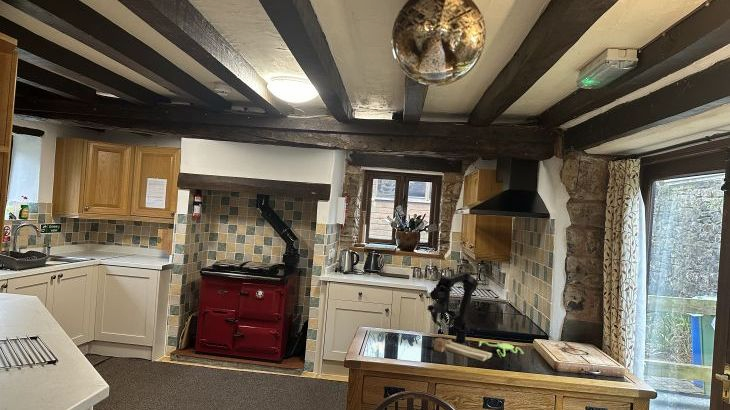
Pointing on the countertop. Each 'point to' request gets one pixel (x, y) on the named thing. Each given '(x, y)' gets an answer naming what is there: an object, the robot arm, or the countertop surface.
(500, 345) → the figurine
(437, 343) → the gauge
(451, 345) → the board
